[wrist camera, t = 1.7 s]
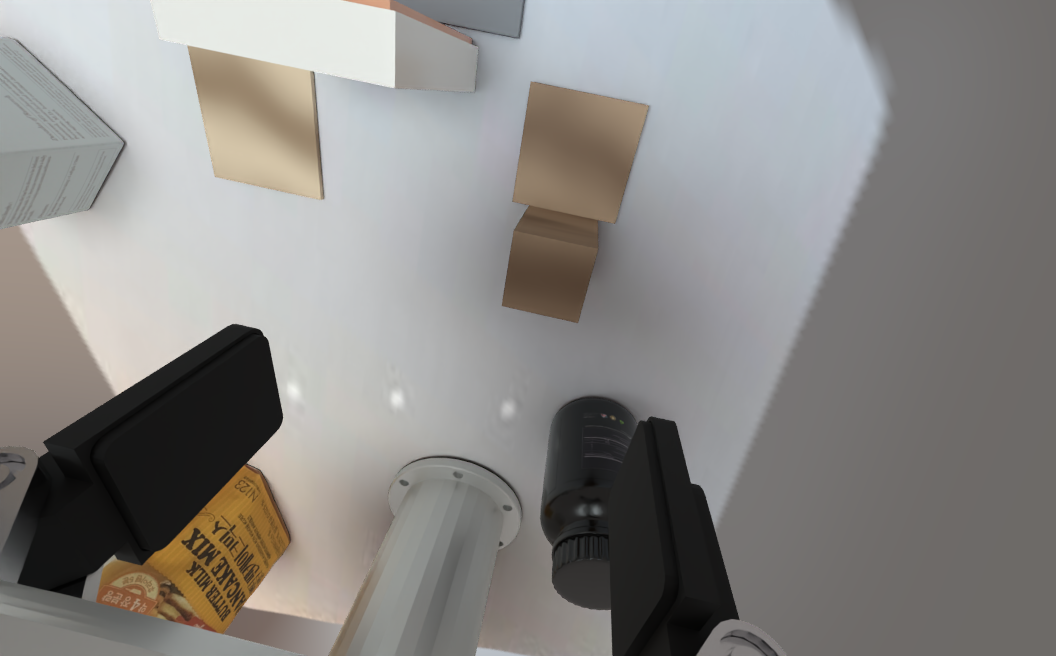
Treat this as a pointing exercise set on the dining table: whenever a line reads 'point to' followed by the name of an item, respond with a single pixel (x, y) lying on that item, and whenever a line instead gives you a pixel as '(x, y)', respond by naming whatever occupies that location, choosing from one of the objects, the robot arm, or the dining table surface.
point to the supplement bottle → (583, 496)
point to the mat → (474, 14)
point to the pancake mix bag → (205, 560)
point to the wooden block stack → (567, 194)
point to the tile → (328, 39)
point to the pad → (259, 121)
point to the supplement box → (46, 143)
